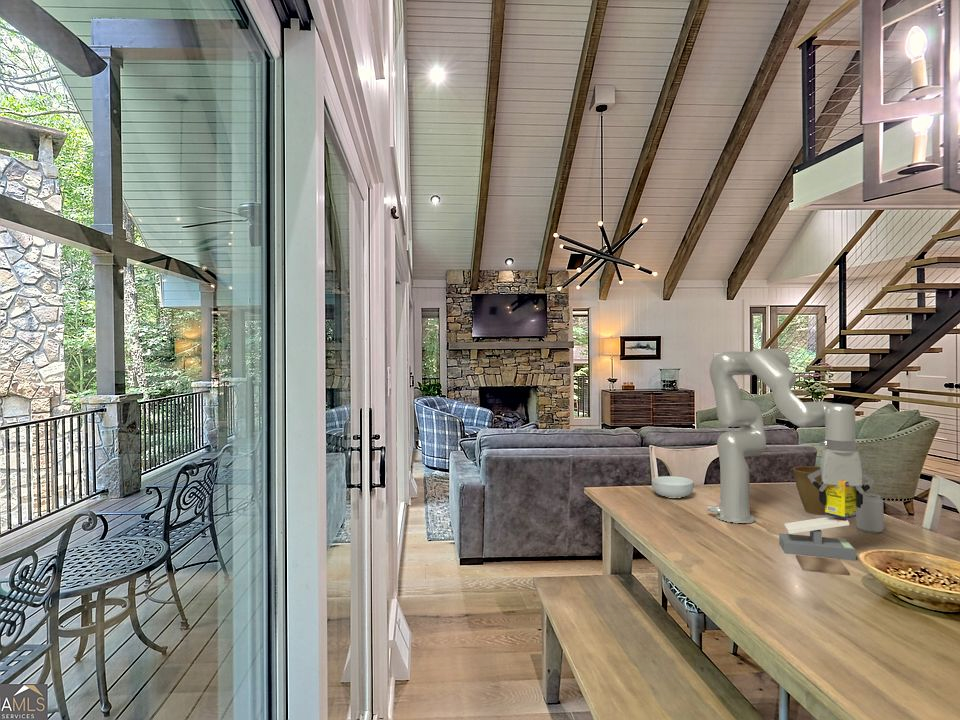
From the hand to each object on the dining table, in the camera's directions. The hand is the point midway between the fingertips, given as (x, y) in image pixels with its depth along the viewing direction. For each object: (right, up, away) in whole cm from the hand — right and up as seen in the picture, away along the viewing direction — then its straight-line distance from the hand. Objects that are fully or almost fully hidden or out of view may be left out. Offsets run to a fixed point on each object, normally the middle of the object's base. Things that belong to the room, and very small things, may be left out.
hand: (840, 505), depth 166 cm
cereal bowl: (-25, -15, +70) cm, 76 cm away
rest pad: (-12, -14, -10) cm, 21 cm away
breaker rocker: (-6, -6, +2) cm, 9 cm away
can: (+24, -14, +22) cm, 35 cm away
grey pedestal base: (-6, -14, +2) cm, 16 cm away
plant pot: (+20, -14, +45) cm, 51 cm away
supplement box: (0, -3, 0) cm, 3 cm away
